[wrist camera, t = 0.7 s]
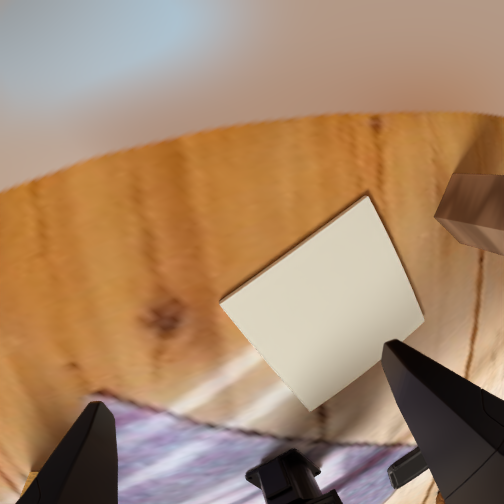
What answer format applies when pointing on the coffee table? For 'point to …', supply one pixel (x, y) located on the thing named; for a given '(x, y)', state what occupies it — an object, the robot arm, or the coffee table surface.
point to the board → (328, 305)
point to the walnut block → (474, 210)
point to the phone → (407, 468)
